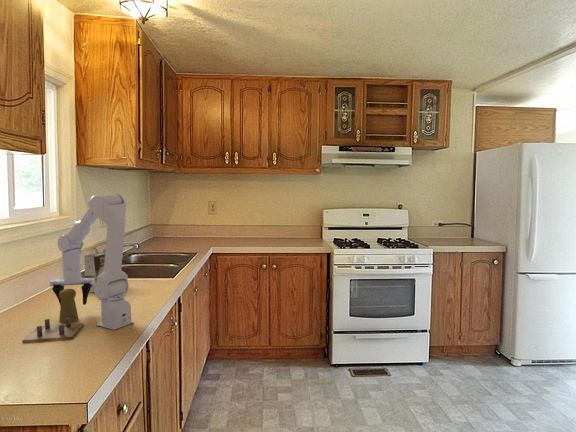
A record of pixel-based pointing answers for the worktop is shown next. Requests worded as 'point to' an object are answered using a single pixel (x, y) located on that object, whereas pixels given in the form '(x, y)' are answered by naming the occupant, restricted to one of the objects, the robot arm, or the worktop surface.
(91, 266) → the coffee box
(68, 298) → the cork
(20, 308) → the worktop surface
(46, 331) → the pin tray
